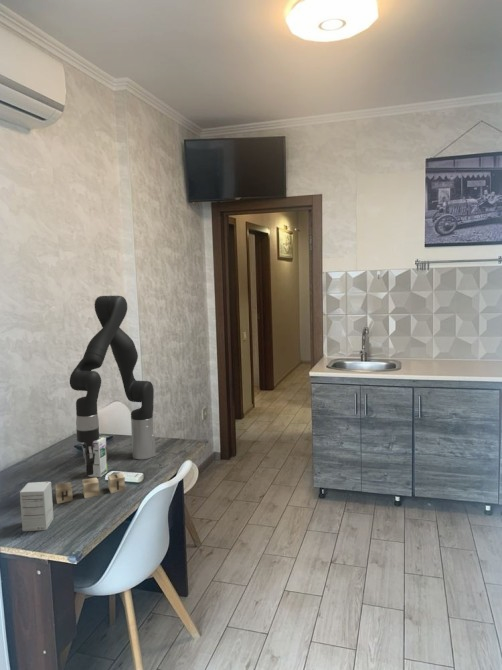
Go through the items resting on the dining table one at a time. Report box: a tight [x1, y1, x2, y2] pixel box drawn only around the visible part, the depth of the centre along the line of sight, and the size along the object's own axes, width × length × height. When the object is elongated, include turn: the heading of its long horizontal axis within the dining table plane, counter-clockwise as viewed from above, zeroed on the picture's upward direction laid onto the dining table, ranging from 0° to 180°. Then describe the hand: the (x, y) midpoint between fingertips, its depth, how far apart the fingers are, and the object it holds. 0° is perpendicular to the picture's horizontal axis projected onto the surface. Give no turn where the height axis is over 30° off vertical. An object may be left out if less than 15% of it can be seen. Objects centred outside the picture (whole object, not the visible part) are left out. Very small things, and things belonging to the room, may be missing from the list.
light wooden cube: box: [55, 481, 74, 505], centre depth 170 cm, size 5×5×5 cm
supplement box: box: [19, 481, 54, 532], centre depth 151 cm, size 7×7×13 cm
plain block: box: [81, 477, 100, 499], centre depth 174 cm, size 5×5×5 cm
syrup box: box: [87, 436, 109, 478], centre depth 191 cm, size 6×6×14 cm
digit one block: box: [107, 472, 126, 494], centre depth 177 cm, size 5×5×5 cm
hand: (89, 474), depth 173 cm, fingers closed
